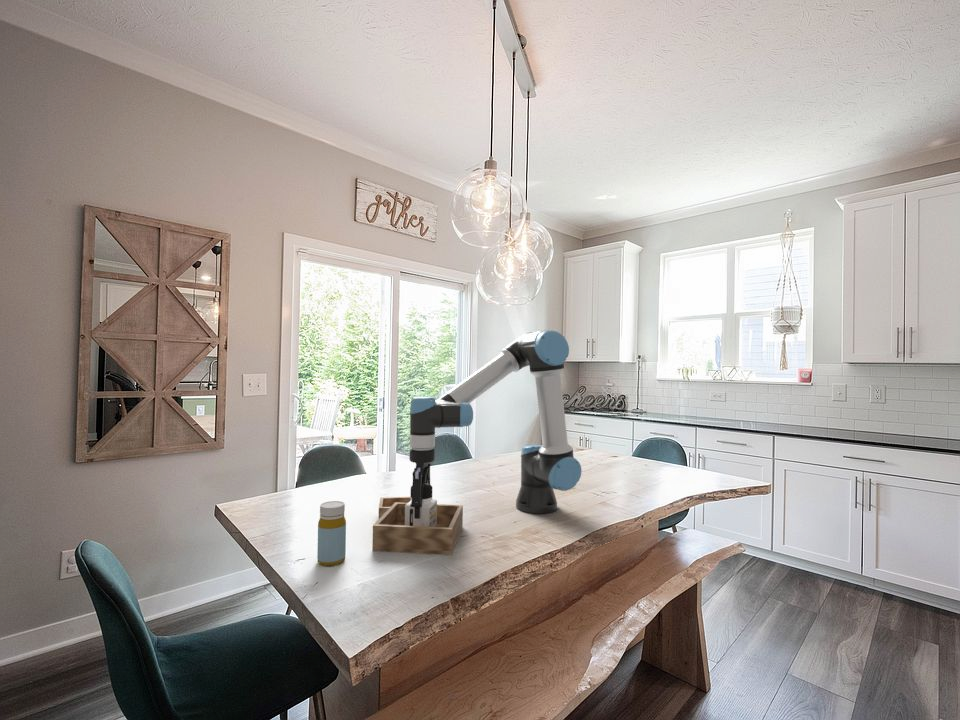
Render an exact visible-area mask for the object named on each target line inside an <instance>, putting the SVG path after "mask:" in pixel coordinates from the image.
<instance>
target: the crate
mask: <svg viewBox="0 0 960 720" xmlns="http://www.w3.org/2000/svg"><path fill="white" fill-rule="evenodd" d="M406 504H407V503H400V502H395V503H394V504H393V505H392V506H391V507H390V508H389V509H388V510H387V511H386V512H385V513H384V514H383V515H382V517H381V518H380V519H379V518H378V519H379V520H377V521H375V523H374V524H373V525H372V545H371V546H372V552H376V551H377V552H390V553H408V554H409V553H410V554H411V553H412V554H423V555H424V554H427V555H428V554H429V555H443V556H444V555H447V556H452V555H453V552H454V550H455V547H456V544H457V542H458V540H459V538H460V535H461V532H462V529H463V525H464V524H463V521H464V520H463V519H464V517H463V516H464V513H463V512H464V509H463V508H464V505H463V504H441V503H437V524H436V525H435V527H424V526H405V505H406ZM397 507H401V522H397Z"/></svg>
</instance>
